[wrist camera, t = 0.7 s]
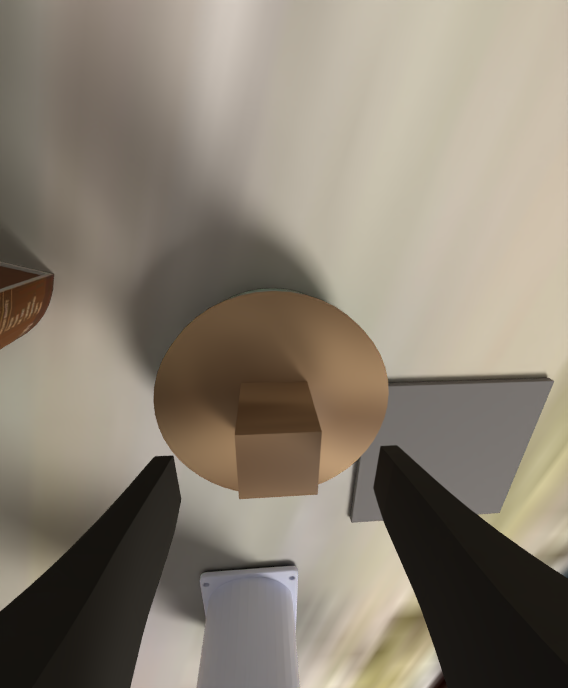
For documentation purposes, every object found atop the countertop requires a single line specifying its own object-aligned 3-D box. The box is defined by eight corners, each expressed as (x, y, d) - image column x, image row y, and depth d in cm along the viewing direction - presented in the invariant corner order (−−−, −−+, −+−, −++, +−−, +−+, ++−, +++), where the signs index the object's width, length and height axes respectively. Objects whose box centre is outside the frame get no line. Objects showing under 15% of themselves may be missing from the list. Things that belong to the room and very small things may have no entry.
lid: (368, 477, 17) (401, 554, 13) (175, 487, 16) (148, 573, 12) (398, 289, 13) (459, 319, 9) (140, 291, 12) (80, 325, 8)
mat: (495, 508, 24) (499, 512, 23) (350, 517, 23) (351, 522, 22) (548, 377, 19) (554, 380, 19) (368, 383, 18) (370, 386, 18)
